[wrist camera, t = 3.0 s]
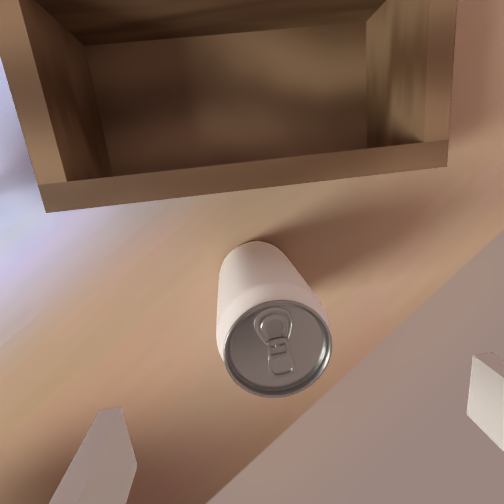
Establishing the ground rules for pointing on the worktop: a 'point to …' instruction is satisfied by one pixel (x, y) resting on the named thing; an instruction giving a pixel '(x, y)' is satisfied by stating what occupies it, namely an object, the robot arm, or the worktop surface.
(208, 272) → the worktop surface
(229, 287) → the can
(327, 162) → the narrow open box
